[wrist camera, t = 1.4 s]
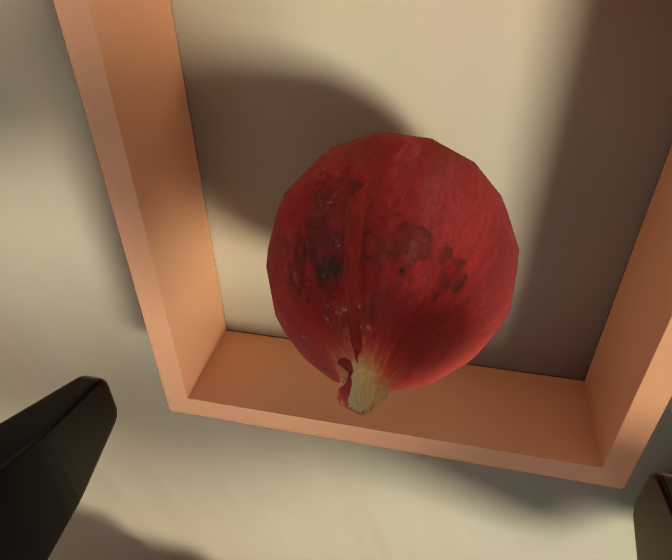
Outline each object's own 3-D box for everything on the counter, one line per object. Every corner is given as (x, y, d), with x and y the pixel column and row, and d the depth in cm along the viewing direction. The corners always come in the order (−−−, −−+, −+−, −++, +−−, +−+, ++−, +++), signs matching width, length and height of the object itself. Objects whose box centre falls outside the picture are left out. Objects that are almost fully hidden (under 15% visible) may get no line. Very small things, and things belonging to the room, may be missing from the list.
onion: (278, 134, 16) (140, 302, 9) (475, 56, 13) (469, 210, 7) (356, 290, 18) (291, 502, 12) (532, 248, 16) (564, 484, 10)
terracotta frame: (817, -122, 10) (940, -124, 8) (602, 400, 19) (623, 489, 16) (119, -113, 13) (20, -113, 10) (210, 342, 21) (169, 410, 19)
